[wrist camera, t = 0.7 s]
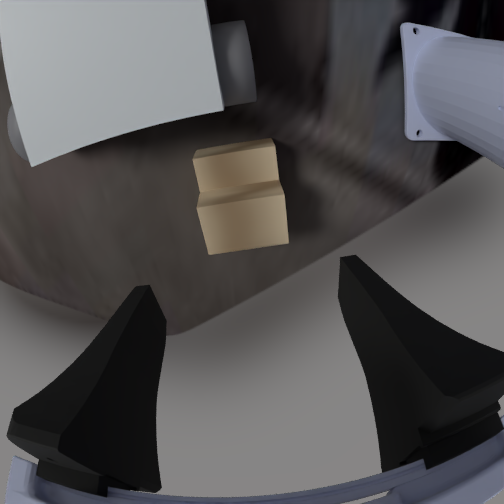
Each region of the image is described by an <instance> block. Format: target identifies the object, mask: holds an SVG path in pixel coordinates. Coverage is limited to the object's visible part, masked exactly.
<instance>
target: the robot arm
mask: <svg viewBox="0 0 504 504" xmlns="http://www.w3.org/2000/svg"><path fill="white" fill-rule="evenodd" d="M413 28H415V29H416V34H414V33H413ZM400 32H401V41H402V53H403V67H404V89H405V136H406V137H407V138H408V139H410V140H413V141H417V140H439V141H458V142H460V143H462V144H464V145H465V146H467V147H469V148H471V149H472V150H474V151H476V152H478V153H479V154H481V155H483V156H484V157H486V158H488V159H490V160H491V161H493V162H494V163H496V164H497V165H499V166H501V167H502V168H504V42H503V41H496V40H488V39H479V38H471V37H468V36H465V35H461V34H457V33H454V32H450V31H446V30H442V29H437V28H433V27H428V26H423V25H418V24H413V23H403V24H402V25H401V26H400ZM418 130H419V131H420V133H419V135H416V133H417V131H418ZM338 299H339V303H340V307H341V311H342V314H343V318H344V321H345V323H346V326H347V328H348V331H349V334H350V336H351V339H352V341H353V344H354V346H355V349H356V351H357V354H358V356H359V359H360V361H361V364H362V367H363V370H364V373H365V376H366V380H367V384H368V389H369V392H370V397H371V402H372V406H373V411H374V416H375V422H376V428H377V434H378V441H379V450H380V458H381V469H382V473H380V474H377V475H373V476H370V477H366V478H362V479H359V480H355V481H351V482H346V483H342V484H338V485H333V486H328V487H323V488H317V489H312V490H306V491H299V492H292V493H284V494H276V495H264V496H250V497H221V498H220V497H183V496H169V495H159V494H150V493H142V492H135V491H143V492H144V491H145V492H152V493H156V492H158V491H159V490H160V489H161V488H162V486H161V480H160V472H159V465H158V454H157V441H156V439H157V438H156V403H157V392H158V386H159V379H160V373H161V368H162V362H163V356H164V349H165V344H166V343H165V342H166V323H167V320H166V318H165V316H164V314H163V312H162V310H161V308H160V306H159V304H158V302H157V300H156V298H155V295H154V293H153V291H152V289H151V287H150V285H144V286H136V287H135V288H134V289H133V290H132V292H131V293H130V294H129V295H128V297H127V298H126V299H125V300H124V302H123V303H122V304H121V306H120V307H119V308H118V310H117V311H116V312H115V314H114V315H113V316H112V317H111V319H110V320H109V321H108V323H107V324H106V325H105V327H104V328H103V329H102V330H101V331H100V333H99V334H98V335H97V336H96V338H95V339H94V340H93V341H92V343H91V344H90V345H89V346H88V347H87V348H86V349H85V351H84V352H83V353H82V354H81V355H80V356H79V357H78V358H77V359H76V360H75V361H74V362H73V363H72V364H71V365H70V366H69V367H68V368H67V369H66V370H65V371H64V372H63V373H62V374H60V375H59V376H58V377H57V378H56V379H55V380H54V381H53V382H51V383H50V384H49V385H48V386H46V387H45V388H44V389H43V390H42V391H40V392H39V393H37V394H36V395H35V396H33V397H32V398H30V399H29V400H27V401H26V402H24V403H22V404H21V405H20V406H18V407H16V408H15V409H14V411H13V414H12V418H11V421H10V425H9V428H8V432H7V438H8V439H9V440H10V441H11V442H12V443H14V444H15V445H17V446H18V447H19V448H21V449H23V450H24V451H26V452H27V453H29V454H31V455H32V456H34V457H36V458H38V459H39V462H38V465H37V464H35V463H32V462H30V461H28V460H25V459H22V458H20V457H17V456H13V459H12V464H11V468H10V473H9V479H8V484H7V490H6V497H5V504H341V503H345V502H350V501H353V500H358V499H361V498H365V497H368V496H372V495H375V494H379V493H382V492H386V491H389V490H390V491H389V492H388V493H387V495H386V496H384V497H381V498H378V499H375V500H372V501H368V502H365V503H362V504H484V503H485V502H487V501H488V500H490V499H491V498H493V497H494V496H495V495H497V494H498V493H499V492H501V491H502V490H503V489H504V415H503V416H502V417H501V418H500V417H499V415H498V413H497V412H498V411H499V410H500V408H501V407H500V404H499V402H498V400H499V399H500V398H501V397H502V396H503V395H504V352H502V351H500V350H497V349H494V348H491V347H489V346H486V345H484V344H481V343H479V342H477V341H475V340H472V339H470V338H468V337H466V336H464V335H462V334H460V333H458V332H456V331H455V330H453V329H451V328H449V327H447V326H446V325H444V324H442V323H440V322H439V321H437V320H435V319H434V318H433V317H431V316H430V315H428V314H427V313H425V312H423V311H422V310H421V309H419V308H418V307H416V306H415V305H414V304H412V303H411V302H410V301H409V300H407V299H406V298H405V297H403V296H402V295H401V294H400V293H398V292H397V291H396V290H395V289H394V288H392V287H391V286H390V285H389V284H388V283H387V282H385V281H384V280H383V279H382V278H381V277H380V276H379V275H378V274H377V273H375V272H374V271H373V270H372V269H371V268H370V267H369V266H367V264H365V263H364V262H363V261H362V260H361V259H360V258H359V257H358V256H356V255H351V256H345V257H340V273H339V289H338ZM130 490H133V491H130Z"/></svg>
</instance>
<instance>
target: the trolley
mask: <svg viewBox="0 0 504 504" xmlns="http://www.w3.org/2000/svg"><path fill="white" fill-rule="evenodd" d="M0 37H1V45H2V53H3V59H4V65H5V71H6V76H7V81H8V86H9V91H10V95H11V100H12V105H11V107H10V110H9V114H8V122H7V125H8V134H9V138H10V141H11V143H12V145H13V147H14V149H15V151H16V152H17V153H18V154H19V155H20V156H21V157H22V158H23V159H25V160H27V161H29V162H30V164H31V167H33V166H36V165H38V164H40V163H43V162H45V161H47V160H50V159H52V158H55V157H57V156H60V155H63V154H65V153H68V152H70V151H73V150H76V149H79V148H81V147H84V146H87V145H90V144H93V143H96V142H99V141H102V140H105V139H108V138H111V137H115V136H118V135H121V134H125V133H128V132H131V131H135V130H139V129H142V128H146V127H150V126H154V125H157V124H161V123H166V122H170V121H174V120H178V119H183V118H187V117H192V116H197V115H202V114H207V113H212V112H218V111H224V104H225V106H231V105H237V104H244V103H251V102H256V101H257V94H256V83H255V75H254V67H253V61H252V54H251V48H250V43H249V38H248V33H247V29H246V25H245V22H244V20H239V21H232V22H226V23H219V24H214V25H211V26H210V20H209V14H208V8H207V3H206V0H0Z"/></svg>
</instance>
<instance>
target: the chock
mask: <svg viewBox="0 0 504 504" xmlns="http://www.w3.org/2000/svg"><path fill="white" fill-rule="evenodd" d="M193 163H194V167H195V172H196V176H197V180H198V185H199V189H200V195H199V200H198V204H197V211H198V215H199V219H200V223H201V227H202V231H203V234H204V238H205V242H206V246H207V249H208V253H209V255H212V254H219V253H225V252H232V251H239V250H246V249H253V248H259V247H266V246H273V245H280V244H287V243H289V239H288V227H287V216H286V205H285V195H284V192H283V189H282V186H281V184H280V181H279V175H278V166H277V157H276V148H275V145H274V143H273V141H272V139H271V138H268V139H260V140H253V141H246V142H240V143H233V144H227V145H221V146H215V147H210V148H204V149H199V150H196V152H195V155H194V157H193Z"/></svg>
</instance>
